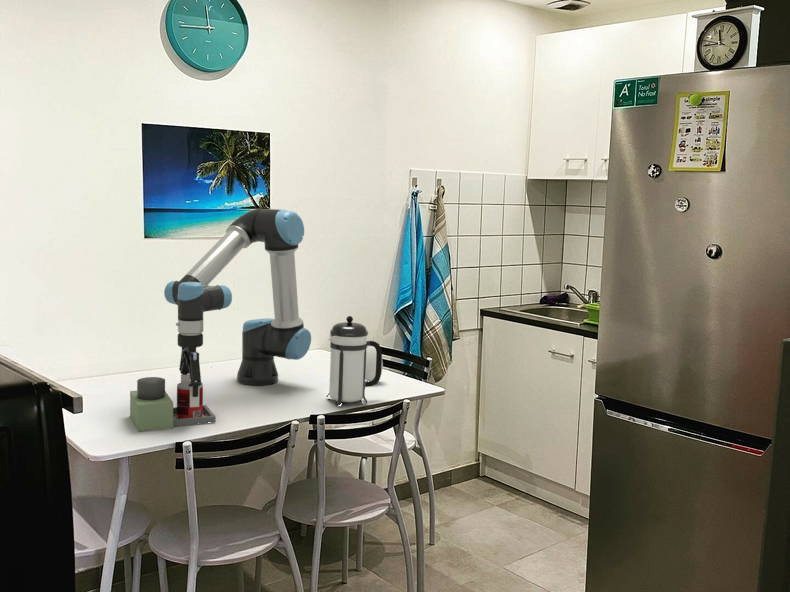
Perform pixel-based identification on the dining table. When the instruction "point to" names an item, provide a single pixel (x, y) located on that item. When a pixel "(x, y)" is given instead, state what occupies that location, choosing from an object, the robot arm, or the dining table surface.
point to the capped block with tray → (158, 407)
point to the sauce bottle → (371, 363)
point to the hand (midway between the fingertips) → (189, 400)
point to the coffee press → (350, 362)
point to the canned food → (188, 401)
